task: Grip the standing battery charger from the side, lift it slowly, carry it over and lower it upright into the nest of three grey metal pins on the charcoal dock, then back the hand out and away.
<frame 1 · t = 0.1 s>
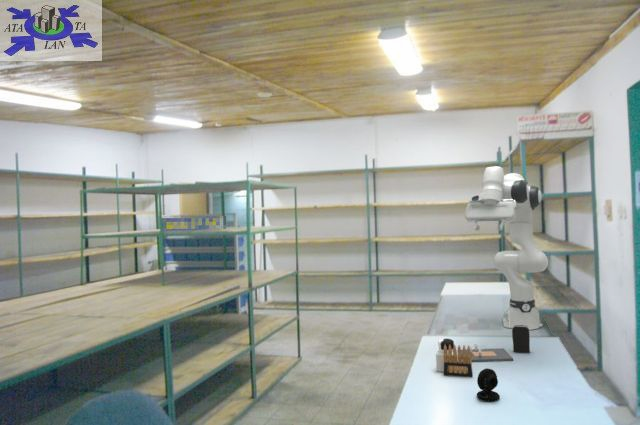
hand: (488, 229, 209), 54 cm above the table, tool tilted 30°, fingers open, 8 cm apart
ammunition clip: (458, 376, 195), on the table
dock: (484, 356, 215), on the table
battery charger: (521, 352, 219), on the table
webcam: (488, 398, 172), on the table
medicine bottle: (447, 369, 202), on the table
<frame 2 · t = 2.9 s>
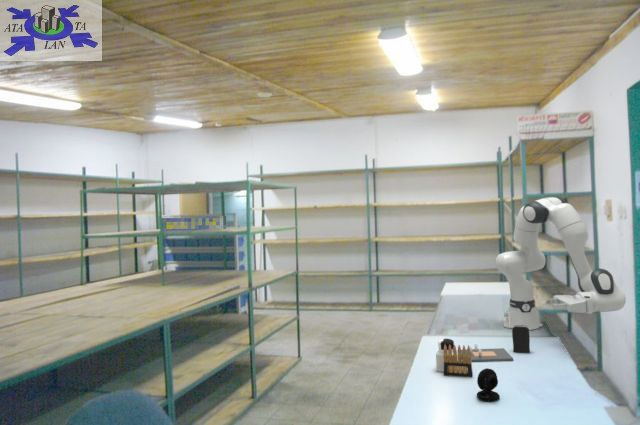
hand: (549, 304, 217), 20 cm above the table, tool horizontal, fingers open, 8 cm apart
nothing on the table moved.
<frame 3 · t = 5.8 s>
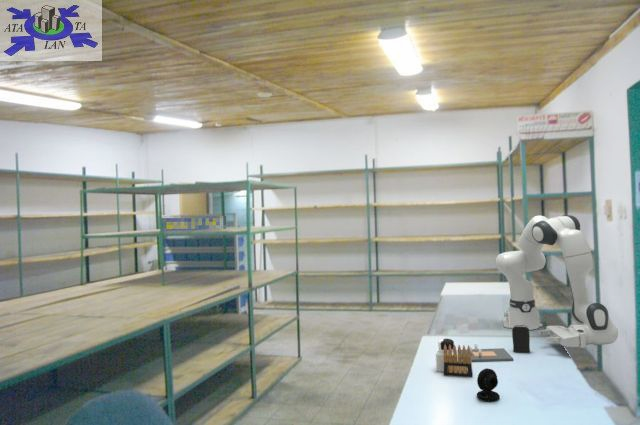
hand: (542, 336, 218), 6 cm above the table, tool horizontal, fingers open, 8 cm apart
nothing on the table moved.
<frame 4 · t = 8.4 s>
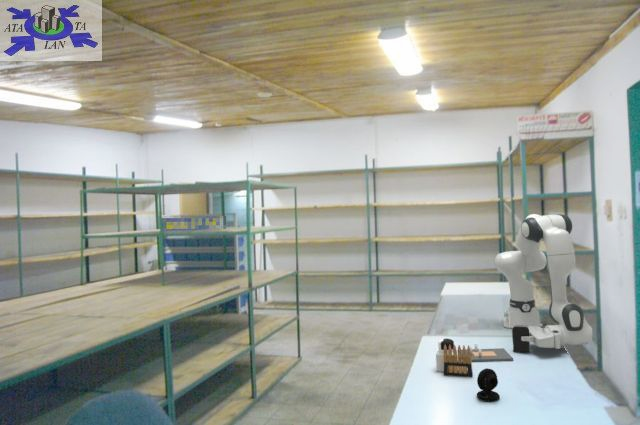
hand: (518, 336, 219), 7 cm above the table, tool horizontal, fingers closed on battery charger, 4 cm apart
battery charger: (521, 351, 219), on the table, touching gripper
everything else where it was.
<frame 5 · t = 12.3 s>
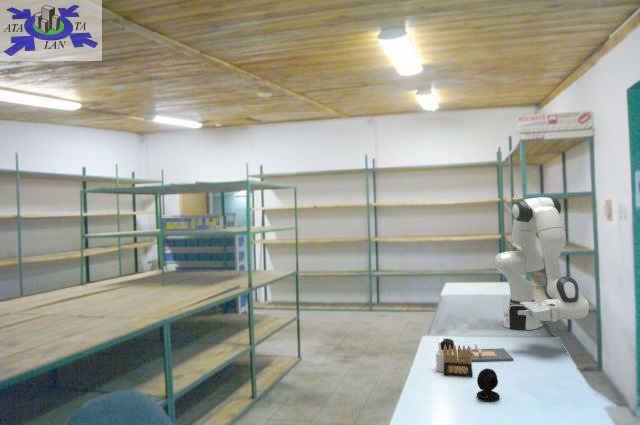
hand: (515, 311, 218), 18 cm above the table, tool horizontal, fingers closed on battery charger, 4 cm apart
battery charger: (517, 329, 220), point 9 cm above the table, touching gripper
everything else where it was.
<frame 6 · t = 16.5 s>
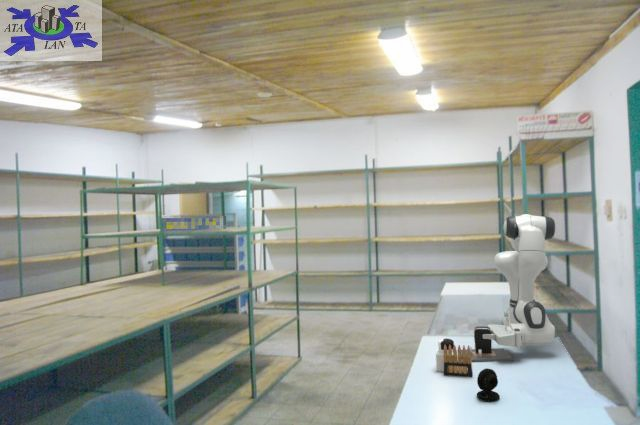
hand: (480, 334, 215), 9 cm above the table, tool horizontal, fingers closed on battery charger, 4 cm apart
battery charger: (483, 352, 217), point 1 cm above the table, touching dock, gripper
everything else where it was.
when the fingers open (9 cm above the table, at t = 16.8 s): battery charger stays where it is, resting on dock.
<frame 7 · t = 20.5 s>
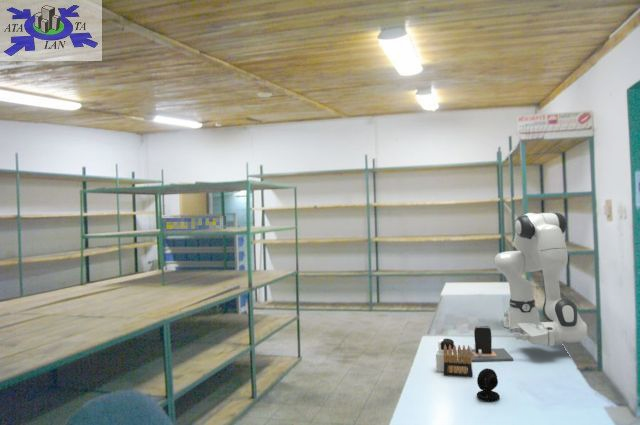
hand: (512, 333, 214), 9 cm above the table, tool horizontal, fingers open, 8 cm apart
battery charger: (483, 353, 217), point 1 cm above the table, touching dock
everything else where it was.
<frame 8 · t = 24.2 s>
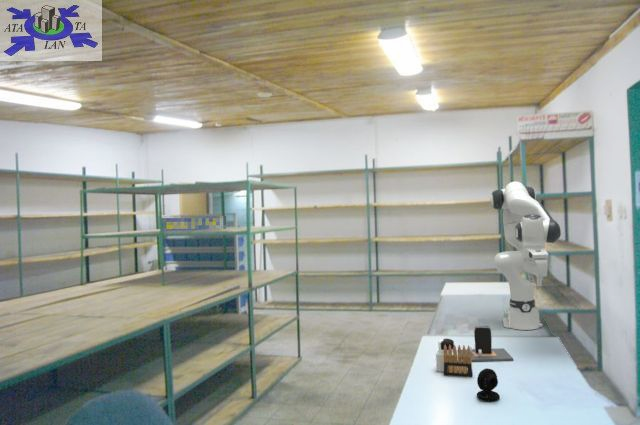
hand: (535, 284, 217), 29 cm above the table, tool pointing down, fingers open, 8 cm apart
nothing on the table moved.
at the end: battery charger 1.6 cm off-centre on the dock, point 0.9 cm above the dock's base; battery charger tilted 0°; the gripper is holding nothing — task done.
